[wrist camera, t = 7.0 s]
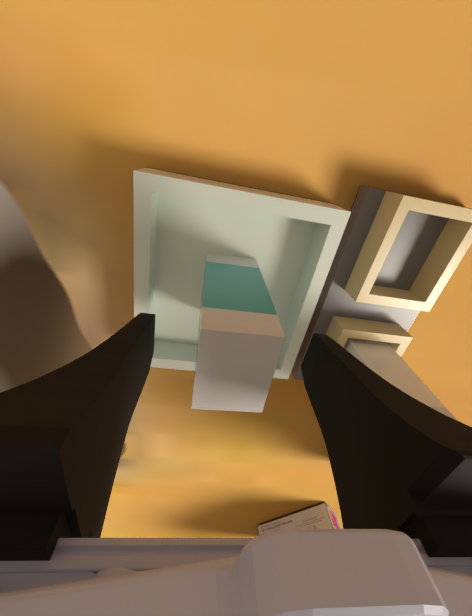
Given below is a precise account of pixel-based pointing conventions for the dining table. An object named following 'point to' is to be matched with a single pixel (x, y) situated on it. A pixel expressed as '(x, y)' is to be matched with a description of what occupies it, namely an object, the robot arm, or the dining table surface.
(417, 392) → the block
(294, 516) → the ink cartridge box
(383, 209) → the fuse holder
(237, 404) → the block
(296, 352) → the tray
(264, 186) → the dining table surface
